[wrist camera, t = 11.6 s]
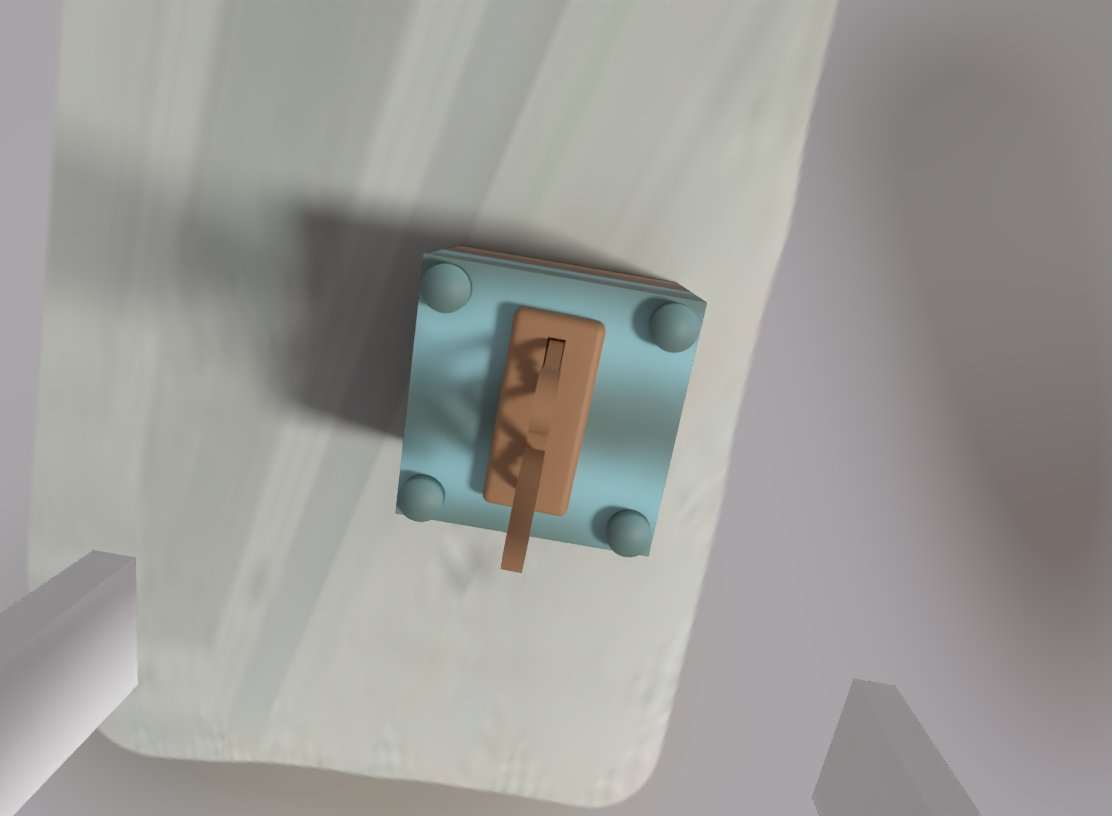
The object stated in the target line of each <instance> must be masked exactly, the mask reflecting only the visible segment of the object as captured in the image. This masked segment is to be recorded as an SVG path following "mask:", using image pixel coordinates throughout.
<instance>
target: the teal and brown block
mask: <svg viewBox="0 0 1112 816" xmlns="http://www.w3.org/2000/svg"><path fill="white" fill-rule="evenodd" d="M706 305H707V302H705V301H704V300H702V299H701V298H699V297H698V296H696V295H695V294H693V293H692V292H690V291H689V290H687V289H686V288H684V287H683V286H681V285H680V284H678V283H675V282H669V281H663V280H658V279H652V278H646V277H640V276H635V275H629V274H623V273H617V272H612V271H606V270H600V269H594V268H589V267H583V266H577V265H571V264H566V263H560V262H554V261H548V260H543V259H537V258H531V257H525V256H520V255H514V254H508V253H502V252H497V251H491V250H485V249H479V248H474V247H468V246H462V245H461V246H457V247H452V248H447V249H442V250H437V251H433V252H428V253H424V255H423V264H422V273H421V282H420V292H419V301H418V310H417V319H416V328H415V338H414V347H413V356H412V365H411V374H410V384H409V393H408V402H407V411H406V421H405V430H404V439H403V448H402V457H401V467H400V476H399V485H398V494H397V503H396V514H402V515H405V516H406V517H407V518H409V519H411V520H414V521H418V522H424V521H429V520H437V521H443V522H449V523H455V524H461V525H466V526H472V527H478V528H484V529H490V530H496V531H502V532H507V531H508V525H509V520H510V515H511V510H512V507H509V506H504V505H498V504H493V503H489V502H486V501H485V500H484V498H483V489H484V483H485V477H486V471H487V466H488V460H489V454H490V449H491V443H492V437H493V432H494V426H495V420H496V414H497V409H498V403H499V397H500V392H501V386H502V380H503V374H504V369H505V363H506V357H507V352H508V346H509V340H510V335H511V329H512V323H513V317H514V313H515V311H516V310H517V309H518V308H519V307H521V306H528V307H533V308H538V309H543V310H548V311H553V312H558V313H563V314H568V315H573V316H578V317H583V318H588V319H593V320H598V321H601V322H602V323H603V324H604V325H605V329H606V334H605V339H604V343H603V348H602V352H601V357H600V362H599V366H598V371H597V376H596V380H595V385H594V389H593V394H592V399H591V403H590V408H589V413H588V417H587V422H586V426H585V431H584V436H583V440H582V445H581V450H580V454H579V459H578V463H577V468H576V473H575V477H574V482H573V487H572V491H571V496H570V500H569V505H568V510H567V512H566V513H565V514H564V515H563V516H555V515H550V514H545V513H540V512H535V511H534V515H533V520H532V525H531V530H530V535H529V536H531V537H537V538H543V539H549V540H555V541H560V542H566V543H572V544H578V545H584V546H590V547H596V548H601V549H607V550H613V551H614V552H615V553H617V554H618V555H620V556H624V557H635V556H638V555H643V556H649V552H650V547H651V543H652V539H653V534H654V530H655V526H656V521H657V517H658V513H659V508H660V504H661V500H662V495H663V491H664V487H665V482H666V478H667V474H668V470H669V465H670V461H671V457H672V452H673V448H674V444H675V439H676V435H677V431H678V426H679V422H680V418H681V413H682V409H683V405H684V400H685V396H686V392H687V387H688V383H689V379H690V374H691V370H692V366H693V361H694V357H695V353H696V348H697V344H698V340H699V335H700V331H701V327H702V322H703V318H704V314H705V309H706Z"/></svg>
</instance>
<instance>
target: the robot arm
mask: <svg viewBox="0 0 1112 816" xmlns="http://www.w3.org/2000/svg"><path fill="white" fill-rule="evenodd" d="M137 685H138V675H137V614H136V557H130V556H124V555H118V554H112V553H107V552H101V551H95V550H93V551H91V552H90V553H88V554H87V555H86V556H84V557H83V558H81V559H80V560H78V561H77V562H75V563H74V564H72V565H71V566H69V567H68V568H66V569H65V570H64V571H62V572H61V573H59V574H58V575H56V576H55V577H53V578H52V579H50V580H49V581H47V582H46V583H44V584H43V585H42V586H40V587H39V588H37V589H36V590H34V591H33V592H31V593H30V594H28V595H27V596H25V597H24V598H22V599H21V600H20V601H18V602H17V603H15V604H14V605H12V606H11V607H9V608H8V609H6V610H5V611H4V612H2V613H0V816H13V815H14V814H15V813H16V812H17V811H18V810H19V809H20V808H21V807H22V806H23V805H24V803H26V801H27V800H28V799H29V798H30V797H31V796H32V795H33V794H34V793H35V792H36V791H37V790H38V789H39V788H40V787H41V786H42V785H43V784H44V783H45V781H46V780H47V779H48V778H49V777H50V776H51V775H52V774H53V773H54V772H55V771H56V770H57V769H58V768H59V767H60V766H61V765H62V764H63V762H64V761H65V760H66V759H67V758H68V757H69V756H70V755H71V754H72V753H73V752H74V751H75V750H76V749H77V748H78V747H79V746H80V745H81V743H83V741H84V740H85V739H86V738H87V737H88V736H89V735H90V734H91V733H92V732H93V731H94V730H95V729H96V728H97V727H98V726H99V725H100V724H101V723H102V722H103V720H104V719H105V718H106V717H107V716H108V715H109V714H110V713H111V712H112V711H113V710H114V709H115V708H116V707H117V706H118V705H119V704H120V703H121V702H122V700H123V699H124V698H125V697H126V696H127V695H128V694H129V693H130V692H131V691H132V690H133V689H134V688H135V687H136V686H137ZM812 798H813V801H814V804H815V806H816V809H817V811H818V814H819V816H982V815H981V814H980V812H979V811H978V809H977V808H976V806H975V805H974V803H973V802H972V800H971V799H970V797H969V796H968V794H967V793H966V791H965V790H964V788H963V787H962V785H961V784H960V782H959V781H958V779H957V778H956V776H955V775H954V773H953V772H952V770H951V769H950V767H949V766H948V764H947V763H946V761H945V760H944V758H943V757H942V755H941V754H940V752H939V751H938V749H937V748H936V746H935V745H934V743H933V742H932V740H931V739H930V737H929V736H928V734H927V733H926V731H925V730H924V728H923V727H922V725H921V724H920V722H919V721H918V719H917V718H916V716H915V715H914V713H913V712H912V710H911V709H910V707H909V706H908V704H907V703H906V701H905V700H904V698H903V697H902V695H901V694H900V692H899V691H898V689H897V688H896V686H894V685H888V684H882V683H877V682H871V681H865V680H859V679H853V682H852V685H851V688H850V691H849V694H848V696H847V699H846V702H845V705H844V708H843V711H842V713H841V716H840V719H839V722H838V725H837V728H836V730H835V733H834V736H833V739H832V742H831V745H830V748H829V750H828V753H827V756H826V759H825V762H824V764H823V767H822V770H821V773H820V776H819V779H818V782H817V784H816V787H815V790H814V793H813V796H812Z"/></svg>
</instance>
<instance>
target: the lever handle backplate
mask: <svg viewBox="0 0 1112 816" xmlns="http://www.w3.org/2000/svg"><path fill="white" fill-rule="evenodd" d="M605 334H606V329H605V325H604V324H603V323H602V322H601V321H598V320H593V319H588V318H583V317H578V316H573V315H568V314H563V313H558V312H553V311H548V310H543V309H538V308H533V307H528V306H521V307H519V308H518V309H517V310H516V311H515V313H514V317H513V323H512V329H511V335H510V340H509V346H508V352H507V357H506V363H505V369H504V374H503V380H502V386H501V392H500V397H499V403H498V409H497V414H496V420H495V426H494V432H493V437H492V443H491V449H490V454H489V460H488V466H487V471H486V477H485V483H484V489H483V498H484V500H485V501H486V502H489V503H493V504H498V505H504V506H509V507H512V510H511V515H510V520H509V525H508V531H507V536H506V541H505V546H504V552H503V558H502V564H501V569H503V570H509V571H514V572H519V573H522V569H523V564H524V560H525V555H526V550H527V545H528V540H529V535H530V530H531V525H532V520H533V515H534V511H535V512H540V513H545V514H550V515H555V516H563V515H564V514H565V513H566V512H567V510H568V505H569V500H570V496H571V491H572V487H573V482H574V477H575V473H576V468H577V463H578V459H579V454H580V450H581V445H582V440H583V436H584V431H585V426H586V422H587V417H588V413H589V408H590V403H591V399H592V394H593V389H594V385H595V380H596V376H597V371H598V366H599V362H600V357H601V352H602V348H603V343H604V339H605Z"/></svg>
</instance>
